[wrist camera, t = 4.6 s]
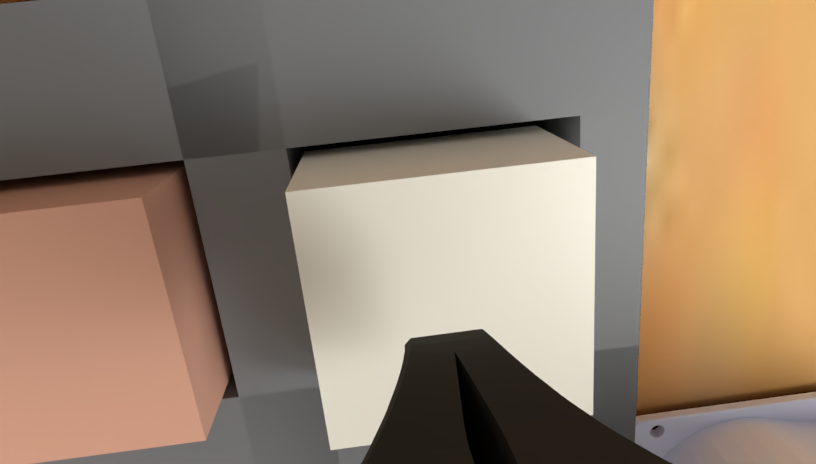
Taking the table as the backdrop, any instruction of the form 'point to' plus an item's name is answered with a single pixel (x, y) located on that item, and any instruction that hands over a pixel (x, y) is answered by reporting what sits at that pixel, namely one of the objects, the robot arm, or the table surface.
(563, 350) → the cream key
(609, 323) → the key console
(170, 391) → the terracotta key
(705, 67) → the table surface
